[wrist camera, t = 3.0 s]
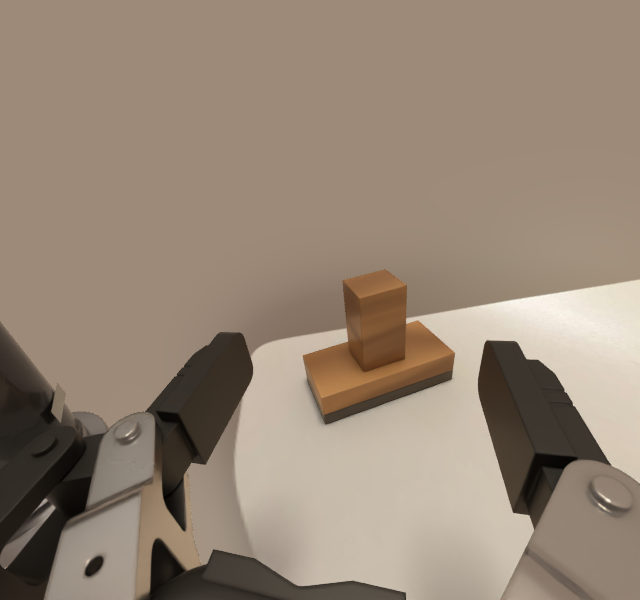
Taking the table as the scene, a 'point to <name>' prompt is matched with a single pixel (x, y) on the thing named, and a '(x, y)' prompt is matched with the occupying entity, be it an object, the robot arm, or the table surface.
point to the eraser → (376, 351)
